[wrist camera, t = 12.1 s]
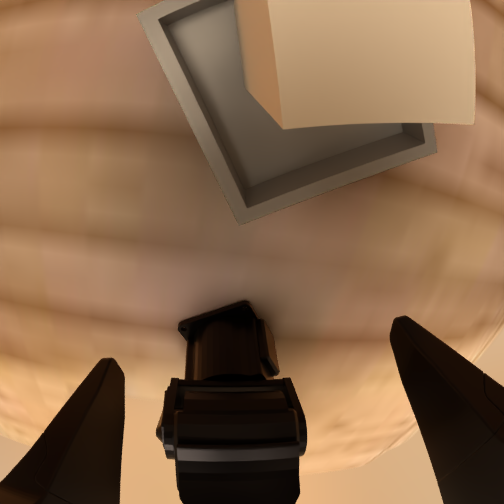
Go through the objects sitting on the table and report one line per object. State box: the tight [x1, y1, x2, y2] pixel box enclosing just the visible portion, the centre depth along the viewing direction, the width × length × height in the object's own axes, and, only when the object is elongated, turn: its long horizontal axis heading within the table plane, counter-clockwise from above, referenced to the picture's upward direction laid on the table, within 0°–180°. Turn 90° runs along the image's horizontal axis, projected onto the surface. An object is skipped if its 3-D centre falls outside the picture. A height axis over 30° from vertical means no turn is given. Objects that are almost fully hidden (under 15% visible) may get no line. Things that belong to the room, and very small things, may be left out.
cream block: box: [233, 0, 476, 130], centre depth 10 cm, size 5×5×12 cm
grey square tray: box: [136, 0, 437, 226], centre depth 15 cm, size 13×13×4 cm
